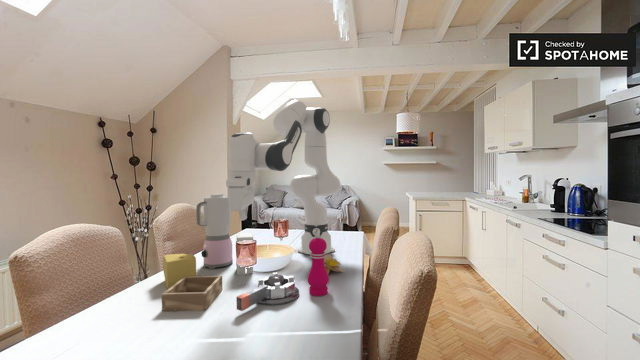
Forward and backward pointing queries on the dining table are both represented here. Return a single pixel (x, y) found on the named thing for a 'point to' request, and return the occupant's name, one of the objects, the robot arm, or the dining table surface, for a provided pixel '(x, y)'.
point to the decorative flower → (331, 264)
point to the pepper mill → (318, 267)
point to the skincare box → (240, 238)
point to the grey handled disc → (266, 292)
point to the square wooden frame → (192, 293)
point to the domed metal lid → (279, 301)
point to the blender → (216, 231)
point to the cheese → (178, 267)
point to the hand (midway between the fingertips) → (243, 219)
